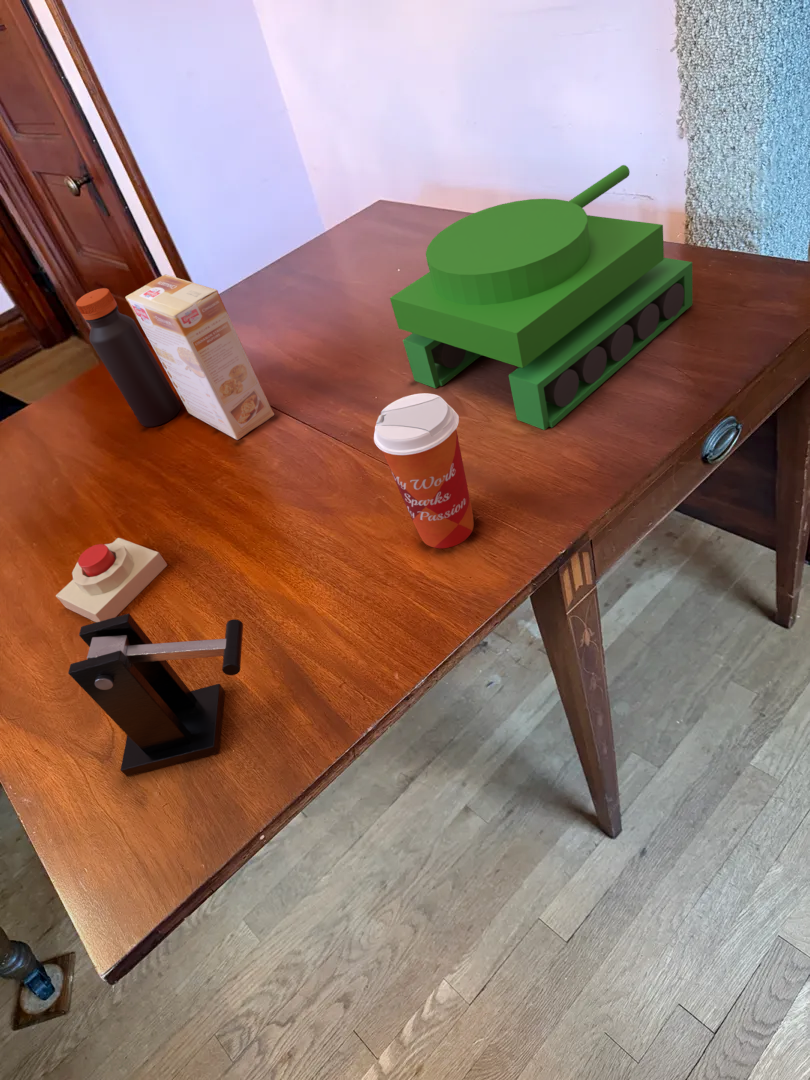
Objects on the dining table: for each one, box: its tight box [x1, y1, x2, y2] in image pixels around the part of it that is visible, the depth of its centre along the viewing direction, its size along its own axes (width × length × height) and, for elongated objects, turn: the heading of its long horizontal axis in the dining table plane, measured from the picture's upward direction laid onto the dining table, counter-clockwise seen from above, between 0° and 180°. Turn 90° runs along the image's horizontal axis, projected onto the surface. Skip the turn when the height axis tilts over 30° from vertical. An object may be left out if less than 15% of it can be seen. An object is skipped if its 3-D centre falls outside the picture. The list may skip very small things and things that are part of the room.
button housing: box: [55, 537, 168, 623], centre depth 87 cm, size 10×8×4 cm
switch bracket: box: [67, 613, 225, 778], centre depth 65 cm, size 9×7×14 cm
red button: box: [77, 543, 115, 577], centre depth 85 cm, size 4×4×2 cm
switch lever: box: [86, 619, 244, 676], centre depth 62 cm, size 12×5×2 cm, turn 97°
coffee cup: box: [373, 392, 475, 549], centre depth 75 cm, size 8×8×15 cm
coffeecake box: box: [125, 274, 275, 441], centre depth 104 cm, size 15×7×20 cm, turn 42°
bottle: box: [75, 287, 181, 428], centre depth 109 cm, size 7×7×20 cm
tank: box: [389, 164, 693, 431], centre depth 96 cm, size 24×35×16 cm
